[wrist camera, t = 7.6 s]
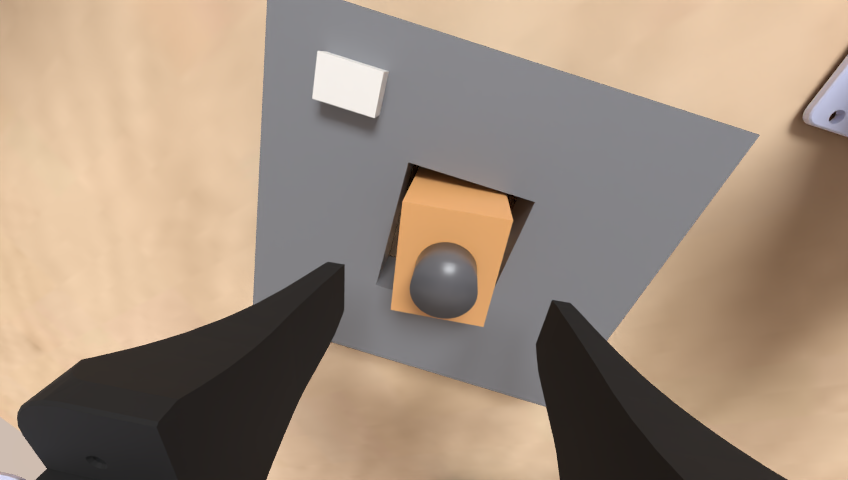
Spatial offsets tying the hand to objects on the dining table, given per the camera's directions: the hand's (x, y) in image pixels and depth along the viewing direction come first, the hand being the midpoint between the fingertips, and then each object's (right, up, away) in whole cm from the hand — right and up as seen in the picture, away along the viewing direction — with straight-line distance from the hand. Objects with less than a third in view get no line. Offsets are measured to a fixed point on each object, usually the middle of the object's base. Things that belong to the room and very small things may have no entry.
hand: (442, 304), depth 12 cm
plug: (+1, +4, +6) cm, 7 cm away
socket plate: (+1, +3, +6) cm, 7 cm away
